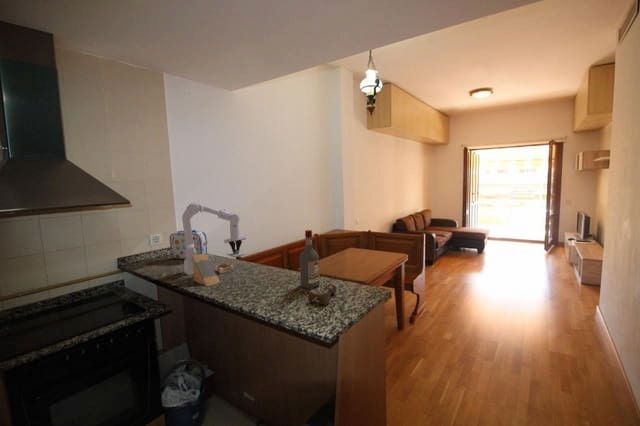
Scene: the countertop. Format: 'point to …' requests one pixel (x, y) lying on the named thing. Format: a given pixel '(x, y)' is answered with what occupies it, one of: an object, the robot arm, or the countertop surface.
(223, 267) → the box
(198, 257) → the sandwich container
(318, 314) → the countertop surface
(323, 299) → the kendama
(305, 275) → the liquor
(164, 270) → the countertop surface
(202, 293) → the countertop surface
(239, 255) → the lid
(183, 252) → the lunch box
